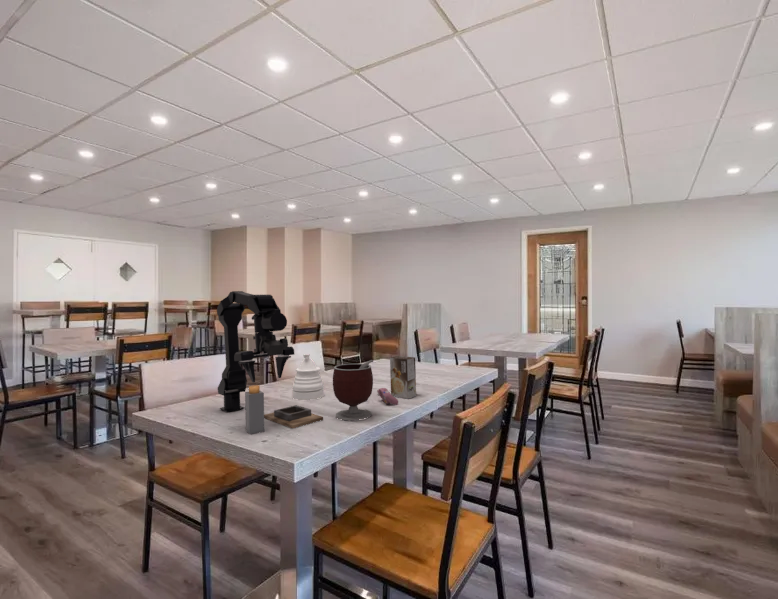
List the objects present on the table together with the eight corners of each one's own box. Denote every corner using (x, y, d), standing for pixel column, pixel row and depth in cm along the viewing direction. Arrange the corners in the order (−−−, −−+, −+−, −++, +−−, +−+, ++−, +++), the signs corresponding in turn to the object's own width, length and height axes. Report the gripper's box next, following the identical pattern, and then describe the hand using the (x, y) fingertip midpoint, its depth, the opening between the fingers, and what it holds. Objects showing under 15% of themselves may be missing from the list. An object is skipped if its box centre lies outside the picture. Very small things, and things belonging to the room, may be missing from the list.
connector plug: (245, 430, 127) (244, 385, 127) (260, 427, 130) (259, 383, 130) (249, 434, 124) (248, 388, 124) (264, 431, 126) (263, 386, 126)
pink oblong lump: (381, 403, 163) (373, 389, 162) (390, 397, 164) (383, 382, 163) (390, 410, 153) (381, 394, 152) (399, 403, 155) (391, 387, 154)
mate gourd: (324, 417, 140) (323, 359, 139) (350, 408, 151) (349, 354, 151) (360, 425, 131) (359, 362, 131) (385, 414, 142) (384, 357, 142)
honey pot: (320, 400, 164) (319, 355, 163) (288, 400, 164) (288, 356, 164) (326, 393, 176) (325, 351, 176) (296, 393, 177) (296, 351, 177)
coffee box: (417, 396, 168) (416, 357, 168) (408, 399, 163) (407, 359, 163) (399, 393, 174) (398, 355, 174) (389, 396, 169) (389, 357, 169)
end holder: (263, 417, 141) (263, 409, 141) (292, 410, 150) (292, 402, 150) (292, 428, 128) (292, 419, 128) (323, 419, 137) (323, 410, 137)
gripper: (247, 333, 122) (251, 386, 121) (301, 329, 135) (305, 376, 134) (232, 335, 130) (235, 384, 129) (284, 330, 143) (287, 375, 142)
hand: (267, 380), depth 133 cm, fingers open, 9 cm apart
